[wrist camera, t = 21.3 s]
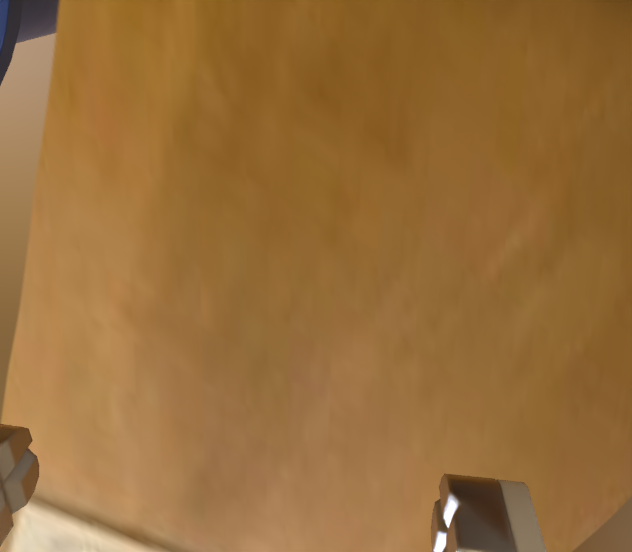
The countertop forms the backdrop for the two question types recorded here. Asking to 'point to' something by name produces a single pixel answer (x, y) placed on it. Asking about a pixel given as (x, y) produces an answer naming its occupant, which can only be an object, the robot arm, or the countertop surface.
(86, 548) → the countertop surface
